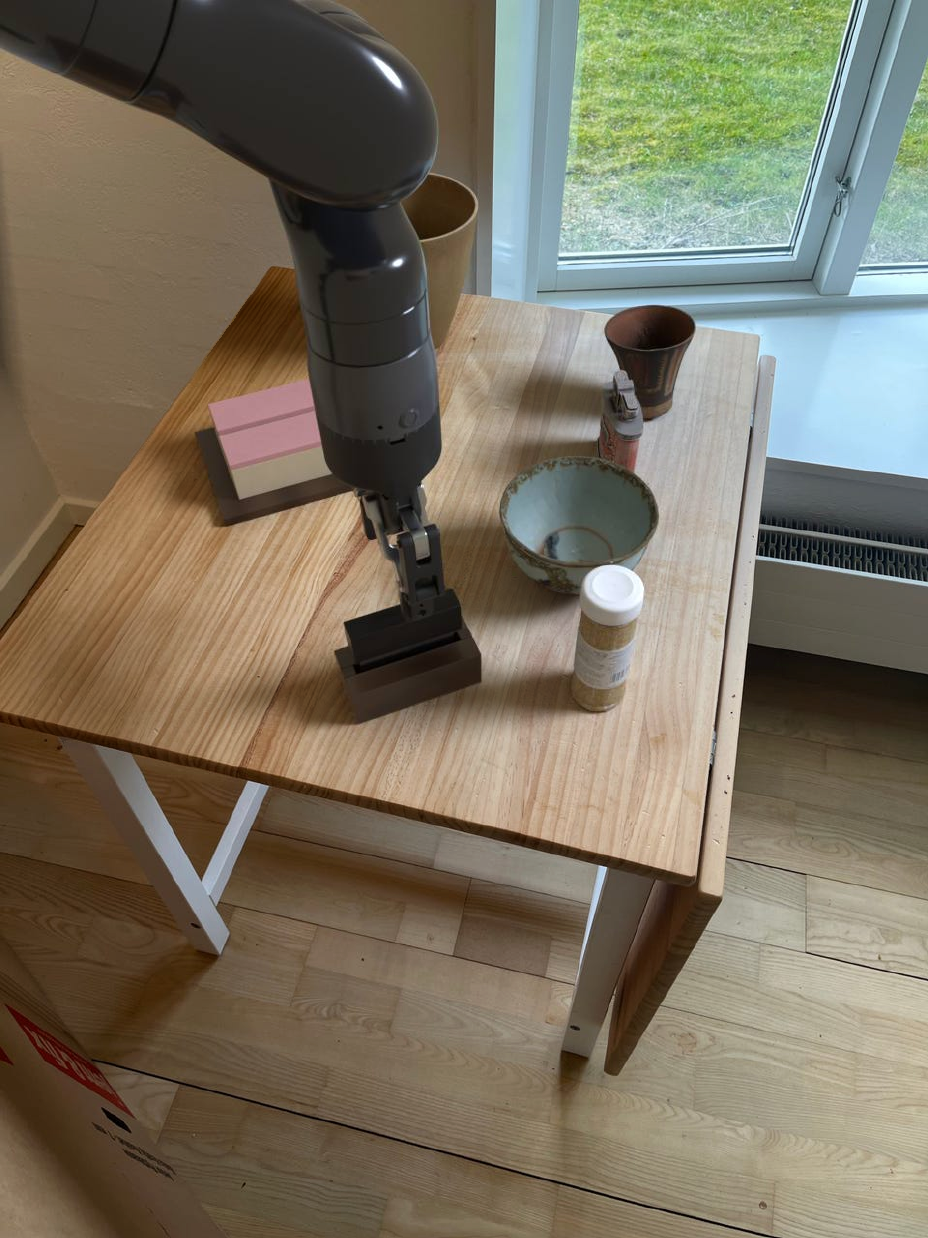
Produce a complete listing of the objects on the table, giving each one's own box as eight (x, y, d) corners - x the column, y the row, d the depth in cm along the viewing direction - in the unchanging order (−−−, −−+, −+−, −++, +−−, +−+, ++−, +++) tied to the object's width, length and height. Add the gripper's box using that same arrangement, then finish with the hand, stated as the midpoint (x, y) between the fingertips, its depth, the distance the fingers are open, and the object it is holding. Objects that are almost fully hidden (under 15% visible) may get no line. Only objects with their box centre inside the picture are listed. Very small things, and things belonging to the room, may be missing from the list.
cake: (239, 500, 93) (229, 465, 89) (229, 471, 95) (218, 436, 92) (346, 470, 95) (341, 435, 92) (333, 442, 98) (327, 407, 94)
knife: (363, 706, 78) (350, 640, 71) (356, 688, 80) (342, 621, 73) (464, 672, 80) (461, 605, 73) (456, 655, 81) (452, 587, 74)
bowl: (541, 648, 82) (545, 587, 76) (474, 545, 89) (473, 483, 83) (676, 594, 85) (690, 532, 79) (600, 500, 93) (607, 437, 87)
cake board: (226, 526, 92) (223, 519, 91) (196, 439, 100) (194, 431, 99) (372, 484, 95) (371, 477, 94) (333, 403, 103) (331, 395, 103)
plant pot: (453, 386, 105) (447, 252, 92) (331, 360, 108) (309, 227, 96) (497, 312, 113) (497, 180, 101) (382, 290, 117) (369, 160, 104)
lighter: (590, 441, 98) (598, 360, 91) (622, 438, 98) (633, 357, 91) (606, 495, 93) (616, 414, 86) (640, 491, 93) (653, 411, 86)
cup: (609, 370, 106) (618, 289, 98) (689, 386, 104) (705, 305, 96) (586, 418, 101) (594, 337, 93) (670, 437, 98) (685, 355, 91)
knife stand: (357, 724, 77) (351, 697, 74) (339, 678, 80) (333, 650, 77) (482, 682, 80) (481, 654, 77) (460, 638, 83) (459, 609, 79)
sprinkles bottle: (606, 661, 81) (623, 554, 70) (635, 701, 78) (657, 596, 68) (559, 681, 80) (569, 575, 69) (587, 722, 77) (602, 618, 66)
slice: (227, 465, 96) (216, 430, 92) (217, 438, 99) (207, 403, 95) (331, 437, 98) (325, 402, 95) (319, 411, 101) (313, 376, 97)
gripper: (284, 344, 60) (322, 524, 73) (351, 487, 52) (380, 662, 64) (396, 316, 62) (414, 496, 74) (479, 451, 53) (482, 628, 66)
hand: (398, 573), depth 69 cm, fingers open, 8 cm apart
